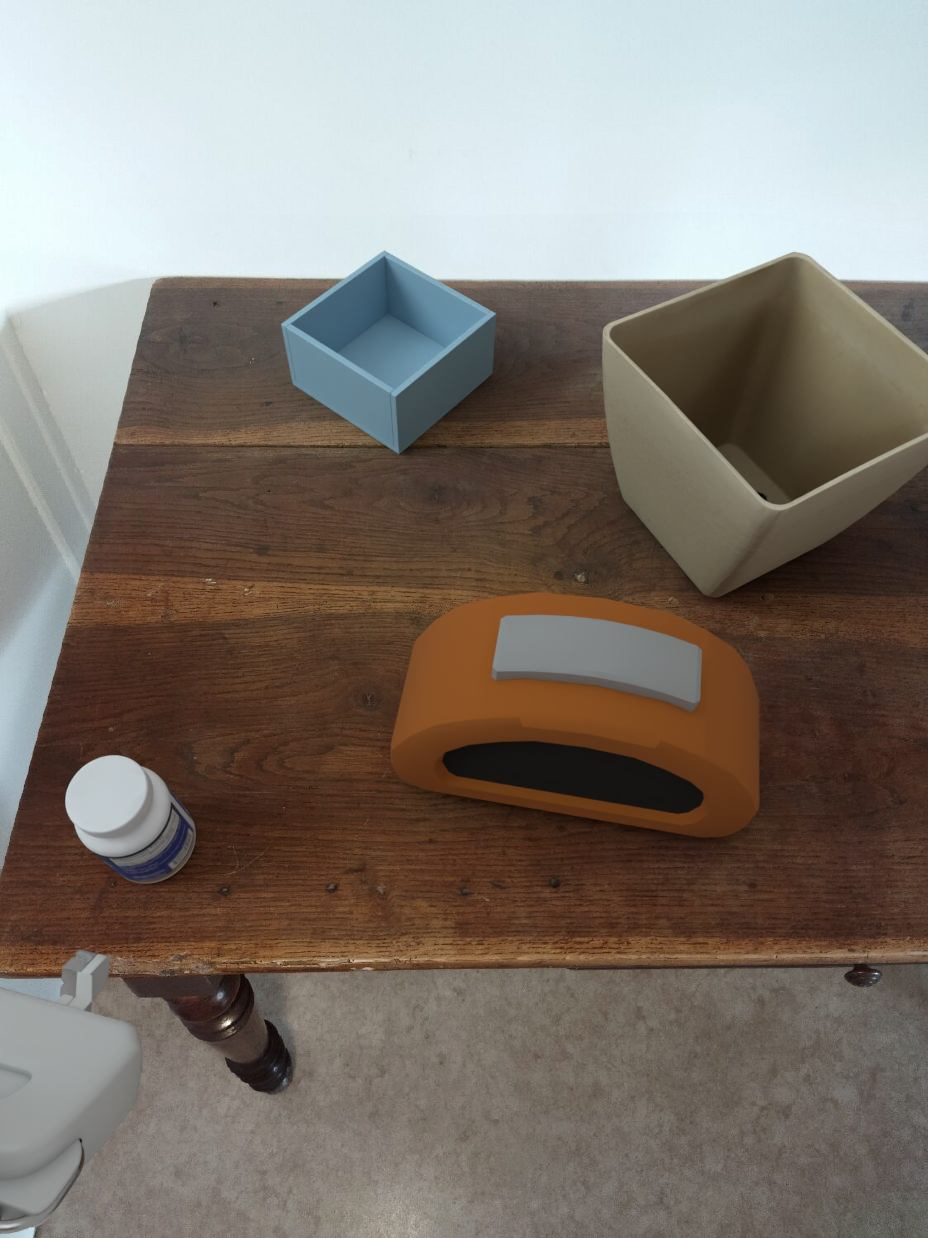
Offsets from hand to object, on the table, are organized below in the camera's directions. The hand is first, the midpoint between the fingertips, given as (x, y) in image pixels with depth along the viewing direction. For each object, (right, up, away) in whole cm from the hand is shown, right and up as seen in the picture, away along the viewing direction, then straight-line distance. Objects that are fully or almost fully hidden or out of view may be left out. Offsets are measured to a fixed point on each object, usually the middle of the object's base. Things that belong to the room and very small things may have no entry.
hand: (7, 940), depth 44 cm
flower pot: (+45, +25, +31) cm, 60 cm away
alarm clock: (+30, +6, +19) cm, 36 cm away
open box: (+16, +38, +39) cm, 57 cm away
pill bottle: (+2, +1, +16) cm, 16 cm away
